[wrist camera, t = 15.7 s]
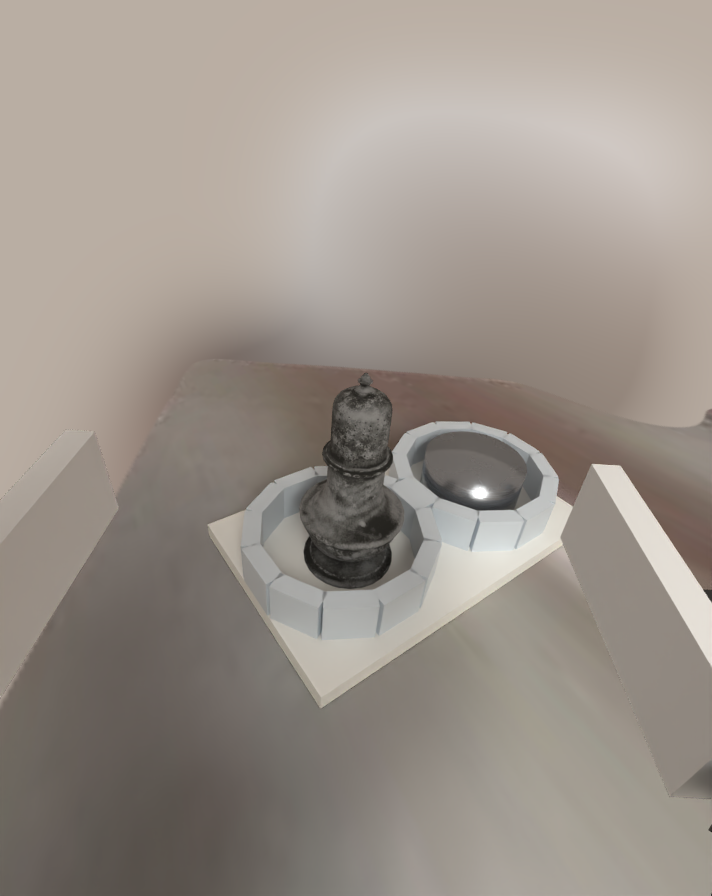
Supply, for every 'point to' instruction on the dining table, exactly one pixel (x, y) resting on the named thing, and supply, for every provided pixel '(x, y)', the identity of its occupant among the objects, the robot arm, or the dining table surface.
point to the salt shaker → (353, 494)
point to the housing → (411, 570)
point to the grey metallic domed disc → (473, 471)
